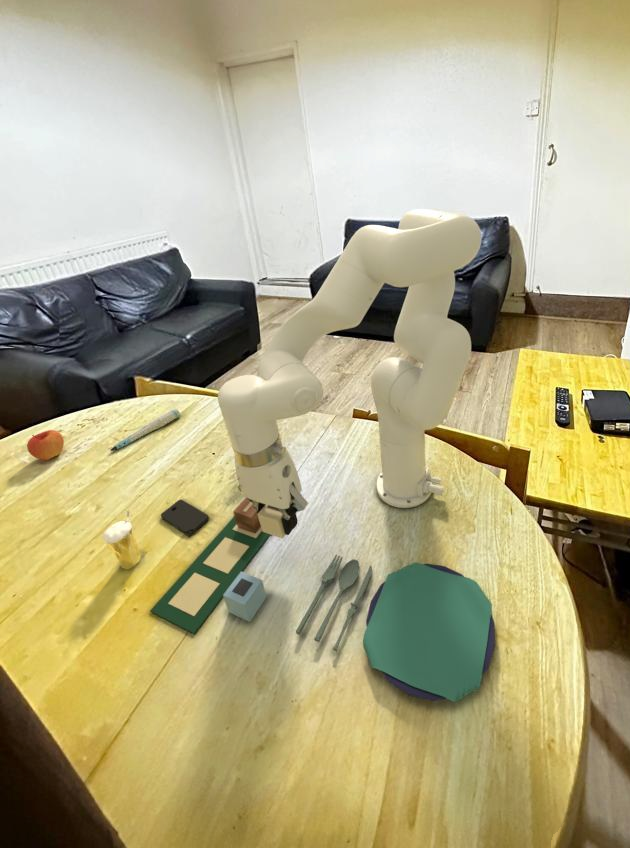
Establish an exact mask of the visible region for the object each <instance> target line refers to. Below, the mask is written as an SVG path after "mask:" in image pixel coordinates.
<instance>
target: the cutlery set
mask: <svg viewBox="0 0 630 848" xmlns="http://www.w3.org/2000/svg"><path fill="white" fill-rule="evenodd" d="M343 559H344V556H340V555H338V554H335V555H334V557H333V559H332V561H331V562H330V563H329V565H328V566H327V568H326V569H325V571H324V572H323V574H322V575H321V579H322V580H321V584H320V586H319V587H318V590H317V592H316V594H315V596H314V598H313V599H312V601H311V604H310V605H309V607H308V609H307V611H306V612H305V614H304V615H303V617H302V619H301V621H300V623H299V624H298V626H297V628H296V630H295V634H296V635H298V636H301V634H302V632H303V630H304V628H305V626H306V624H307V622H308V620H309V619H310V618H311V615H312V613H313V612H314V610H315V609H316V607H317V604H318V602H319V600H320V598H321V596H322V594H323V592H324V590H325V588H326V587H328V585H329V584H330V583H332V582H333V581H334V579H335V576H336V574H337V572H338V569H339V567H340V565H341V563H342V561H343ZM360 569H361V567H360V562H359V560H358V559H355V558H352V559H350V561H348V562H346V563H345V564H344V566H343V567H342V568H341V570H340V571H339V575H338V579H337V581H338V587H339V592H338V594H337V595H336V597H335V599H334V601H333V603H332V604H331V606H330V608H329V610H328V611H327V613H326V615H325V617H324V619H323V621H322V623H321V625H320V627H319V629H318V631H317V632H316V634H315V636H314V638H313V639H314V641H315V642H317V643H320V642H321V639H322V637H323V635H324V633H325V630H326V628H327V626H328V624H329V622H330V619H331V617H332V615H333V612H334V611H335V609H336V607H337V605H338V602H339V600H340V598H341V596H342V594H343V592H344V591H345V590H346V589H348V588H349V587H352V586H353V584H354V583H355V582H356V581H357V579H358V577H359V571H360ZM372 575H373V566H372V565H369V567H368V568H367V572H366V574H365V575H364V578H363V580H362V583H361V585H360V588H359V590H358V591H357V594H356V596H355V599H354V601H353V603H352V602H350V608H348V610H347V614H346V619H345V621H344V623H343V625H342V629H341V631H340V634H339V635H338V638H337V640H336V643H335V644H334V646H333V647H332V650H333V651H334V652H336V653H337V652H338V648H339V645H340V643H341V640H342V637H343V636H344V633H345V631H346V628H348V625H349V622H350V621H351V619H352V618H353V617H354V616H355V611H356V610H358V604H359V603H360V601H361V599H362V597H363V596H364V594H365V592H366V589H367V587H368V584H369V582H370V579H371V578H372ZM492 608H493V604H492V602H491V601H490V599H489V598H488V597H487V595H486V594H485V592H484V590H483V589H482V587H481V586H480V585H479V584H478V582H477V581H475V580H474V579H472V578H470V577H466V576H464V575H463V574H462V573H460V572H458V571H455V570H453V569H452V568H450V567H447V566H445V565H439V564H433V563H420V562H412V563H410V564H407V566H403V567H402V568H398V569H397V570H395V571H392V572H391V573H388V574H387V576H386V578H385V581H383V582H382V583H381V584H380V585H379V587H378V588H377V590H376V592H375V593H374V595H373V597H372V598H371V600H370V602H369V608H368V612H367V616H366V619H365V624H366V628H365V631H364V634H363V638H362V646H363V649H364V651H365V654H366V656H367V658H368V661H369V665H370V667H371V668H372V669H376V670H379V671H380V672H381V674H383V676H384V677H385V678H386V679H387V681H388V682H389V683H390V684H391V685H392V686H394V687H396V688H398V689H399V690H400V691H402V692H404V693H405V694H407V695H408V696H410V697H414V698H418V699H422V700H426V701H431V702H436V701H442V700H450V701H451V702H453V703H458V702H459V701H460V700H461V699H464V698H466V696H467V695H470V694H472V693H473V692H474V691H475V692H476V691H477V690H478V689H479V688H480V686H481V682H482V677H483V676H484V674H485V673H486V672H487V670H488V669H489V668H490V664H491V660H492V657H493V653H494V650H495V648H496V637H495V635H496V633H495V631H496V629H495V628H496V627H495V621H494V618H493V615H492Z"/></svg>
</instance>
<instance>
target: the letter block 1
mask: <svg viewBox="0 0 630 848" xmlns="http://www.w3.org/2000/svg"><path fill="white" fill-rule="evenodd" d="M257 511H258V510H255V509H254V508H253V506H252V502H251V501H250V500H249V499H247V497H244V499H243V500H242V501H241V502H239V505H237V506H236V508H235V509H234V510H233V512H232V513H233V517H234V516H235V519H236V523H237V526H238V528H241V529H244V530H247V531H249V532H252V533H256V532H257V531H258V530H259V528H260V527H261V525H260V521H259V518H258V515H257Z"/></svg>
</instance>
